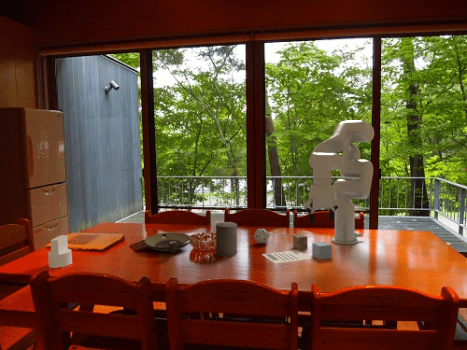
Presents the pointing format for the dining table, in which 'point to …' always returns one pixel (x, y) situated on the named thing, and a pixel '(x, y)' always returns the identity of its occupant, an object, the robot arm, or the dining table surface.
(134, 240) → the dining table surface
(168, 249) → the oil lamp
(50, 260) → the base with upright slab
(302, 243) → the walnut block
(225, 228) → the pillar candle
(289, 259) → the letter
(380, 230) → the dining table surface
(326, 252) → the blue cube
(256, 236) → the game die
